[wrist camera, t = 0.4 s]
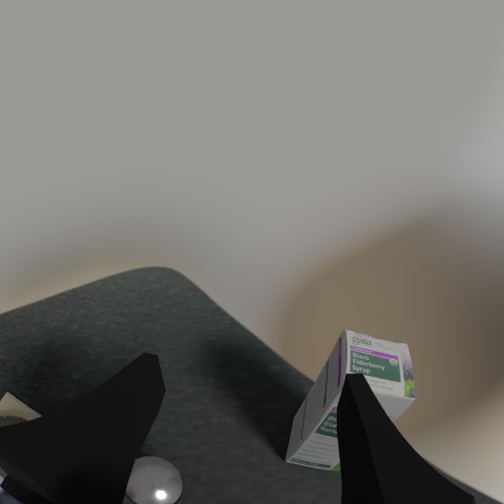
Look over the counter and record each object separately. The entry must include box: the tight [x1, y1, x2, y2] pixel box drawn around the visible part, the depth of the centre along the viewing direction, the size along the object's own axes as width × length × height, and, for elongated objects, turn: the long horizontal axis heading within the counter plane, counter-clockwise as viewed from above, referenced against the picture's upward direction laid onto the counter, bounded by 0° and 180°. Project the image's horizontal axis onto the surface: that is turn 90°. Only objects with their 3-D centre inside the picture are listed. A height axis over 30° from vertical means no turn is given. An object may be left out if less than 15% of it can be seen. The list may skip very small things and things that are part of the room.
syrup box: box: [285, 330, 415, 471], centre depth 24 cm, size 6×6×14 cm
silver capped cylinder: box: [125, 456, 183, 504], centre depth 19 cm, size 4×4×6 cm
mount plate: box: [0, 392, 41, 479], centre depth 17 cm, size 12×12×3 cm
